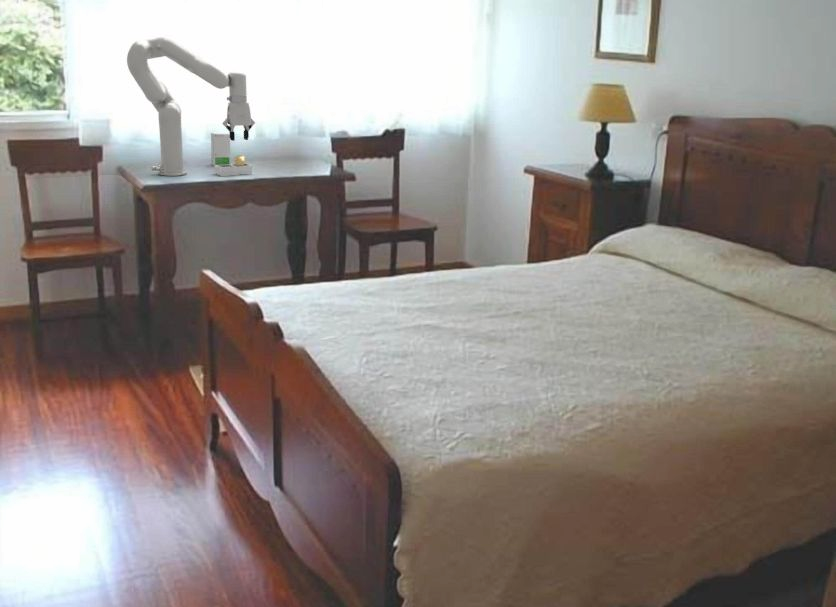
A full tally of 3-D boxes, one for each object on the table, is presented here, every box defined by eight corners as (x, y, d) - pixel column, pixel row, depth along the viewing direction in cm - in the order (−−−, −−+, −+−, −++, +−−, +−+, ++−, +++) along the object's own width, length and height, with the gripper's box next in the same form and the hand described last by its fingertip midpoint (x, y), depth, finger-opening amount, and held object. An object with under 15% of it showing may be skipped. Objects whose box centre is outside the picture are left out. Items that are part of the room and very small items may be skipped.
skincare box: (214, 166, 447) (212, 133, 442) (211, 164, 452) (209, 132, 448) (231, 166, 450) (230, 133, 445) (228, 164, 456) (227, 131, 451)
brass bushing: (237, 174, 426) (237, 156, 423) (233, 173, 429) (233, 155, 427) (246, 174, 428) (245, 156, 426) (242, 172, 432) (242, 155, 429)
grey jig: (221, 176, 420) (220, 167, 418) (214, 173, 426) (213, 164, 425) (251, 174, 428) (251, 165, 427) (244, 171, 434) (244, 162, 433)
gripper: (223, 100, 411) (224, 141, 417) (259, 99, 421) (260, 140, 426) (216, 99, 417) (218, 139, 423) (252, 98, 427) (253, 138, 432)
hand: (239, 139), depth 424 cm, fingers open, 5 cm apart
